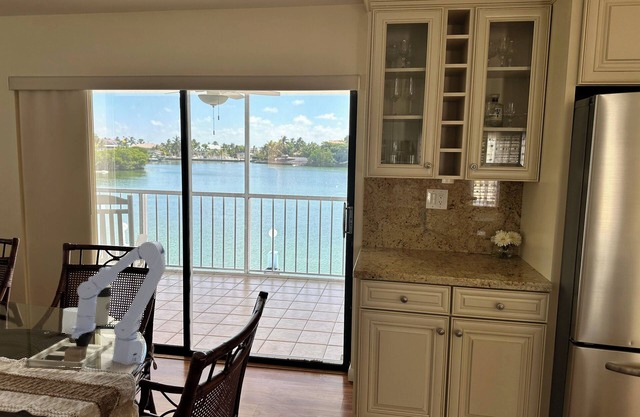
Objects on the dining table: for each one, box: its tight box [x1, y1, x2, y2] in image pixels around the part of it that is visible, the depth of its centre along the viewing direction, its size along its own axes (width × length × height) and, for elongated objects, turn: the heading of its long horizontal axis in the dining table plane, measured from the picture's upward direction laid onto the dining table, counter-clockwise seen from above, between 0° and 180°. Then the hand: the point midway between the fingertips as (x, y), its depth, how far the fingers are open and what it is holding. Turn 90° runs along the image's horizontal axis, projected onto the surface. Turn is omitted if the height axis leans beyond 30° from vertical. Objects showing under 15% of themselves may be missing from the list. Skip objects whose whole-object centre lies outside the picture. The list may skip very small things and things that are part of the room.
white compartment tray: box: [25, 337, 113, 368], centre depth 153 cm, size 27×17×3 cm, turn 6°
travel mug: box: [94, 284, 112, 327], centre depth 201 cm, size 8×8×18 cm
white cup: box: [61, 307, 78, 335], centre depth 183 cm, size 8×8×10 cm
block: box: [63, 346, 87, 362], centre depth 148 cm, size 5×5×4 cm
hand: (81, 353), depth 152 cm, fingers closed
